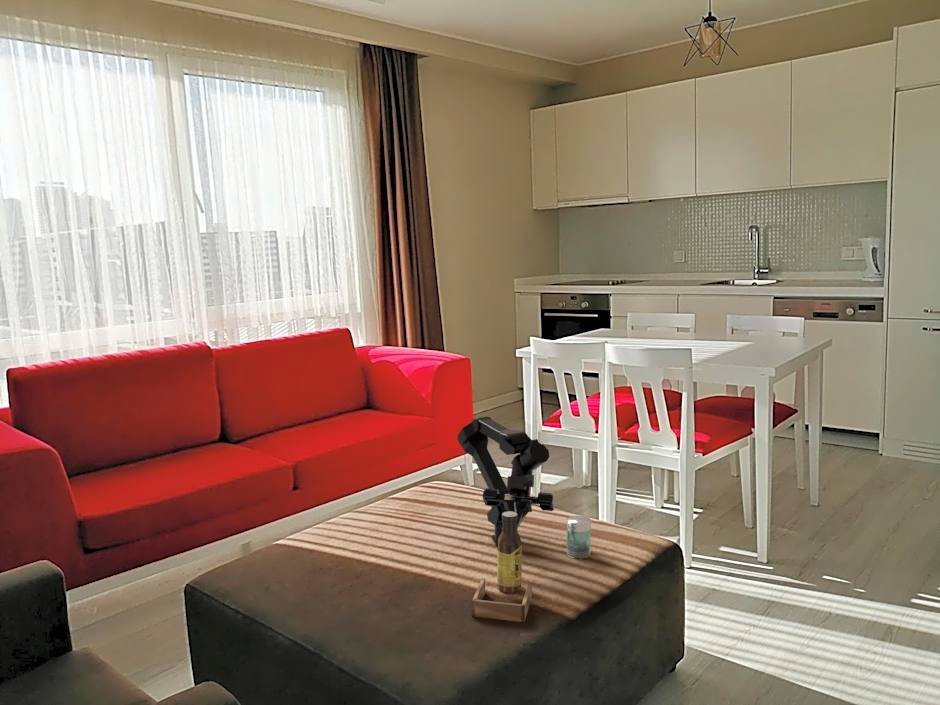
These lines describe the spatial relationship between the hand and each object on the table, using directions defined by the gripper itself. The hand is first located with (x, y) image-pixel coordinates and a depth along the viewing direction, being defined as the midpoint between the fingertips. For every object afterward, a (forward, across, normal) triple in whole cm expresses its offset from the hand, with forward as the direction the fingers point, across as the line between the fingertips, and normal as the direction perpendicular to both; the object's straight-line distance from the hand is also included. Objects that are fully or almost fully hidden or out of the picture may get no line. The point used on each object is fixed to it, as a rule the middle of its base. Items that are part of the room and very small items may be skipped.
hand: (514, 529), depth 206 cm
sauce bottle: (+14, 0, +4) cm, 15 cm away
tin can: (-2, +15, +20) cm, 26 cm away
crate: (+21, 0, -3) cm, 21 cm away
